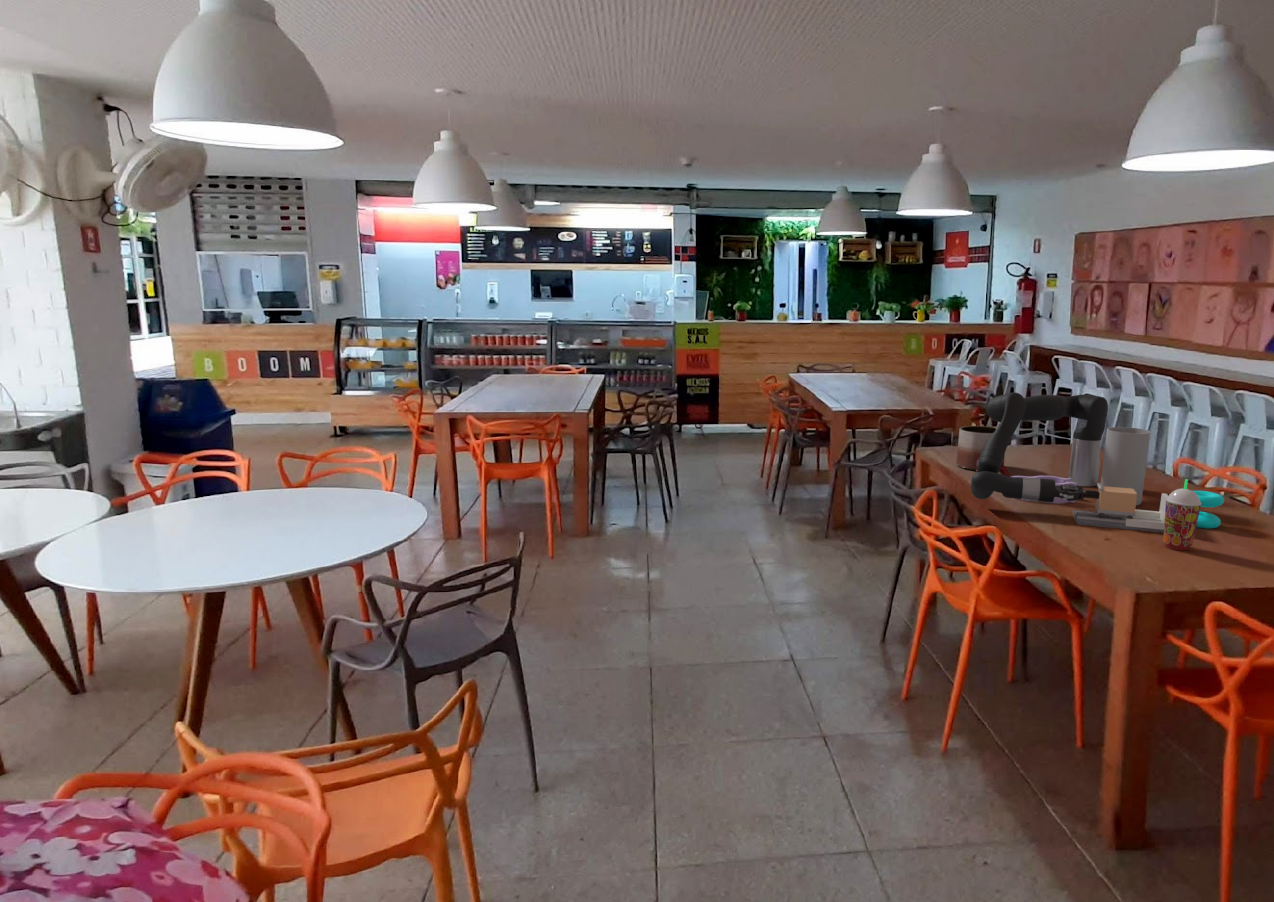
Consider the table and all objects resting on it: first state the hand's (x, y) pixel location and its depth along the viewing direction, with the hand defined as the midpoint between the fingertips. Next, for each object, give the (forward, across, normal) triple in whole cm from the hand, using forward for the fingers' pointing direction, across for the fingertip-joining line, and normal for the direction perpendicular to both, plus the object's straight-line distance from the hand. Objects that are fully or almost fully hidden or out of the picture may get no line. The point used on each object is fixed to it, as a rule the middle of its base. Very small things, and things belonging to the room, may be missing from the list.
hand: (1098, 494), depth 252 cm
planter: (-35, +66, +9) cm, 75 cm away
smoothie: (+18, -21, +8) cm, 29 cm away
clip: (-14, +23, +9) cm, 28 cm away
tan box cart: (+5, 0, +6) cm, 8 cm away
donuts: (+29, +7, +9) cm, 31 cm away
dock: (+7, 0, +8) cm, 11 cm away
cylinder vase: (+10, +28, +9) cm, 31 cm away
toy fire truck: (-30, +32, +9) cm, 45 cm away
